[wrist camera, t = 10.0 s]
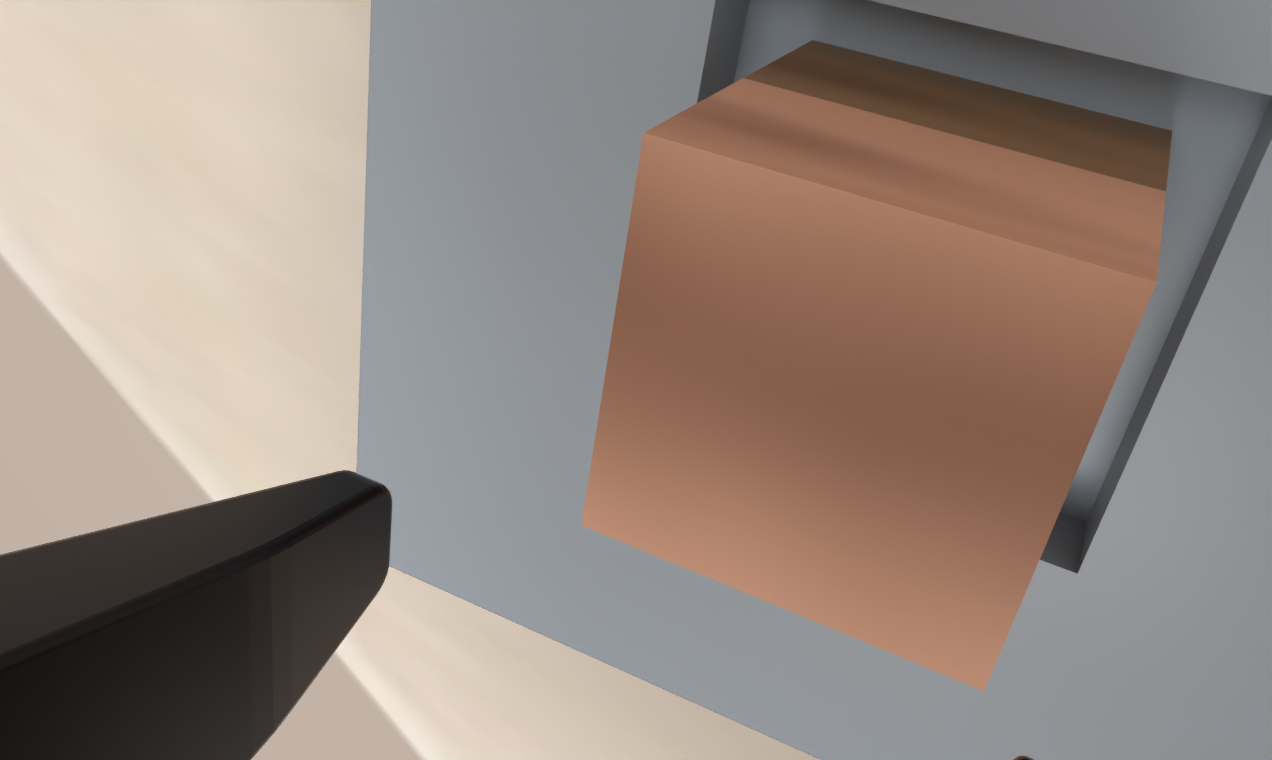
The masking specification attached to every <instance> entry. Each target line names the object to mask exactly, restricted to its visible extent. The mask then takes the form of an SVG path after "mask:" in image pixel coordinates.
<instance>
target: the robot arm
mask: <svg viewBox="0 0 1272 760" xmlns="http://www.w3.org/2000/svg"><path fill="white" fill-rule="evenodd" d="M391 523H392V496H391V493H390V491H389V489H388V488H387V487H386V486H385V485H383V484H381V483H379V482H377V481H374V480H372V479H369V478H367V477H365V476H362V475H360V474H358V473H355V472H352V471H346V470H343V471H337V472H333V473H329V474H325V475H321V476H317V477H313V478H309V479H305V480H301V481H297V482H293V483H289V484H285V485H280V486H276V487H272V488H268V489H264V490H260V491H256V492H252V493H248V494H244V495H240V496H236V497H232V498H228V499H224V500H220V501H216V502H212V503H208V504H204V505H200V506H196V507H192V508H188V509H184V510H180V511H176V512H172V513H167V514H164V515H159V516H156V517H151V518H147V519H144V520H139V521H135V522H131V523H127V524H123V525H119V526H115V527H111V528H107V529H103V530H99V531H95V532H91V533H87V534H83V535H79V536H75V537H71V538H66V539H62V540H58V541H54V542H50V543H46V544H42V545H38V546H35V547H30V548H26V549H22V550H18V551H14V552H10V553H6V554H2V555H0V760H251V759H252V758H253V757H254V755H255V754H256V753H257V752H258V751H259V750H260V748H261V747H262V746H263V745H264V744H265V743H266V742H267V740H268V739H269V738H270V737H271V736H272V735H273V734H274V732H275V731H276V730H277V728H278V727H279V726H280V725H281V723H282V722H283V721H284V720H285V718H286V717H287V716H288V714H289V713H290V712H291V710H292V709H293V708H294V707H295V705H296V704H297V702H298V701H299V700H300V698H301V697H302V696H303V694H304V693H305V691H306V690H307V689H308V687H309V686H310V685H311V683H312V682H313V680H314V679H315V678H316V677H317V675H318V674H319V672H320V671H321V670H322V668H323V667H324V666H325V664H326V663H327V661H328V660H329V658H330V657H331V656H332V655H333V653H334V652H335V651H336V649H337V648H338V647H339V645H340V644H341V642H342V641H343V640H344V638H345V637H346V636H347V634H348V633H349V632H350V630H351V629H352V627H353V626H354V625H355V623H356V622H357V621H358V619H359V618H360V616H361V615H362V614H363V612H364V611H365V610H366V608H367V607H368V606H369V604H370V603H371V601H372V600H373V599H374V597H375V596H376V595H377V593H378V592H379V590H380V588H381V586H382V585H383V583H384V580H385V578H386V575H387V572H388V568H389V562H390V543H391ZM1014 760H1034V759H1032V758H1030V757H1027V756H1018V757H1016V758H1015V759H1014Z"/></svg>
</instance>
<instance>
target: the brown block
mask: <svg viewBox="0 0 1272 760" xmlns="http://www.w3.org/2000/svg"><path fill="white" fill-rule="evenodd" d="M1171 138H1172V131H1171V130H1167V129H1163V128H1159V127H1155V126H1151V125H1147V124H1143V123H1139V122H1135V121H1131V120H1127V119H1124V118H1120V117H1116V116H1112V115H1108V114H1104V113H1100V112H1096V111H1092V110H1088V109H1084V108H1080V107H1076V106H1072V105H1068V104H1064V103H1060V102H1056V101H1052V100H1048V99H1044V98H1040V97H1037V96H1033V95H1029V94H1025V93H1021V92H1017V91H1013V90H1009V89H1005V88H1001V87H997V86H993V85H989V84H985V83H981V82H977V81H973V80H969V79H965V78H961V77H957V76H953V75H949V74H946V73H942V72H938V71H934V70H930V69H926V68H922V67H918V66H914V65H910V64H906V63H902V62H898V61H894V60H890V59H886V58H882V57H878V56H874V55H870V54H866V53H862V52H859V51H855V50H851V49H847V48H843V47H839V46H835V45H831V44H827V43H823V42H819V41H815V40H812V41H810V42H808V43H806V44H804V45H802V46H801V47H799V48H797V49H795V50H793V51H791V52H790V53H788V54H786V55H784V56H782V57H781V58H779V59H777V60H775V61H773V62H771V63H770V64H768V65H766V66H764V67H762V68H761V69H759V70H757V71H755V72H753V73H751V74H750V75H748V76H746V77H744V78H742V79H740V80H739V81H737V82H735V83H733V84H731V85H730V86H728V87H726V88H724V89H722V90H720V91H719V92H717V93H715V94H713V95H711V96H710V97H708V98H706V99H704V100H702V101H700V102H699V103H697V104H695V105H693V106H691V107H689V108H688V109H686V110H684V111H682V112H680V113H679V114H677V115H675V116H673V117H671V118H669V119H668V120H666V121H664V122H662V123H660V124H659V125H657V126H655V127H653V128H651V129H649V130H648V131H646V132H644V133H643V139H642V146H641V152H640V158H639V165H638V171H637V177H636V184H635V190H634V196H633V202H632V209H631V215H630V221H629V228H628V234H627V240H626V247H625V253H624V259H623V265H622V272H621V278H620V284H619V291H618V297H617V303H616V310H615V316H614V322H613V328H612V335H611V341H610V347H609V354H608V360H607V366H606V373H605V379H604V385H603V391H602V398H601V404H600V410H599V417H598V423H597V429H596V436H595V442H594V448H593V454H592V461H591V467H590V473H589V480H588V486H587V492H586V499H585V505H584V511H583V517H582V524H581V525H582V526H584V527H587V528H589V529H592V530H594V531H596V532H599V533H601V534H604V535H606V536H609V537H611V538H613V539H616V540H618V541H621V542H623V543H625V544H628V545H630V546H633V547H635V548H638V549H640V550H642V551H645V552H647V553H650V554H652V555H655V556H657V557H659V558H662V559H664V560H667V561H669V562H672V563H674V564H676V565H679V566H681V567H684V568H686V569H689V570H691V571H693V572H696V573H698V574H701V575H703V576H706V577H708V578H710V579H713V580H715V581H718V582H720V583H723V584H725V585H727V586H730V587H732V588H735V589H737V590H740V591H742V592H744V593H747V594H749V595H752V596H754V597H756V598H759V599H761V600H764V601H766V602H769V603H771V604H773V605H776V606H778V607H781V608H783V609H786V610H788V611H790V612H793V613H795V614H798V615H800V616H803V617H805V618H807V619H810V620H812V621H815V622H817V623H820V624H822V625H824V626H827V627H829V628H832V629H834V630H837V631H839V632H841V633H844V634H846V635H849V636H851V637H854V638H856V639H858V640H861V641H863V642H866V643H868V644H870V645H873V646H875V647H878V648H880V649H883V650H885V651H887V652H890V653H892V654H895V655H897V656H900V657H902V658H904V659H907V660H909V661H912V662H914V663H917V664H919V665H921V666H924V667H926V668H929V669H931V670H934V671H936V672H938V673H941V674H943V675H946V676H948V677H951V678H953V679H955V680H958V681H960V682H963V683H965V684H968V685H970V686H972V687H975V688H977V689H980V690H982V691H984V690H985V688H986V685H987V683H988V681H989V678H990V676H991V674H992V671H993V669H994V666H995V664H996V662H997V659H998V657H999V655H1000V652H1001V650H1002V648H1003V645H1004V643H1005V640H1006V638H1007V636H1008V633H1009V631H1010V629H1011V626H1012V624H1013V621H1014V619H1015V617H1016V614H1017V612H1018V610H1019V607H1020V605H1021V603H1022V600H1023V598H1024V595H1025V593H1026V591H1027V588H1028V586H1029V584H1030V581H1031V579H1032V577H1033V574H1034V572H1035V569H1036V567H1037V565H1038V562H1039V560H1040V558H1041V555H1042V553H1043V551H1044V548H1045V546H1046V543H1047V541H1048V539H1049V536H1050V534H1051V532H1052V529H1053V527H1054V524H1055V522H1056V520H1057V517H1058V515H1059V513H1060V510H1061V508H1062V506H1063V503H1064V501H1065V498H1066V496H1067V494H1068V491H1069V489H1070V487H1071V484H1072V482H1073V480H1074V477H1075V475H1076V472H1077V470H1078V468H1079V465H1080V463H1081V461H1082V458H1083V456H1084V453H1085V451H1086V449H1087V446H1088V444H1089V442H1090V439H1091V437H1092V435H1093V432H1094V430H1095V427H1096V425H1097V423H1098V420H1099V418H1100V416H1101V413H1102V411H1103V409H1104V406H1105V404H1106V401H1107V399H1108V397H1109V394H1110V392H1111V390H1112V387H1113V385H1114V383H1115V380H1116V378H1117V375H1118V373H1119V371H1120V368H1121V366H1122V364H1123V361H1124V359H1125V356H1126V354H1127V352H1128V349H1129V347H1130V345H1131V342H1132V340H1133V338H1134V335H1135V333H1136V330H1137V328H1138V326H1139V323H1140V321H1141V319H1142V316H1143V314H1144V312H1145V309H1146V307H1147V304H1148V302H1149V300H1150V297H1151V295H1152V293H1153V290H1154V288H1155V285H1156V283H1157V275H1158V266H1159V256H1160V246H1161V236H1162V226H1163V217H1164V207H1165V197H1166V187H1167V177H1168V168H1169V158H1170V148H1171Z"/></svg>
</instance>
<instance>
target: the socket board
mask: <svg viewBox="0 0 1272 760" xmlns="http://www.w3.org/2000/svg"><path fill="white" fill-rule="evenodd" d="M812 40H815V41H819V42H823V43H827V44H831V45H835V46H839V47H843V48H847V49H851V50H855V51H859V52H862V53H866V54H870V55H874V56H878V57H882V58H886V59H890V60H894V61H898V62H902V63H906V64H910V65H914V66H918V67H922V68H926V69H930V70H934V71H938V72H942V73H946V74H949V75H953V76H957V77H961V78H965V79H969V80H973V81H977V82H981V83H985V84H989V85H993V86H997V87H1001V88H1005V89H1009V90H1013V91H1017V92H1021V93H1025V94H1029V95H1033V96H1037V97H1040V98H1044V99H1048V100H1052V101H1056V102H1060V103H1064V104H1068V105H1072V106H1076V107H1080V108H1084V109H1088V110H1092V111H1096V112H1100V113H1104V114H1108V115H1112V116H1116V117H1120V118H1124V119H1127V120H1131V121H1135V122H1139V123H1143V124H1147V125H1151V126H1155V127H1159V128H1163V129H1167V130H1171V131H1172V138H1171V148H1170V158H1169V168H1168V177H1167V187H1166V197H1165V207H1164V217H1163V226H1162V236H1161V246H1160V256H1159V266H1158V275H1157V283H1156V285H1155V288H1154V290H1153V293H1152V295H1151V297H1150V300H1149V302H1148V304H1147V307H1146V309H1145V312H1144V314H1143V316H1142V319H1141V321H1140V323H1139V326H1138V328H1137V330H1136V333H1135V335H1134V338H1133V340H1132V342H1131V345H1130V347H1129V349H1128V352H1127V354H1126V356H1125V359H1124V361H1123V364H1122V366H1121V368H1120V371H1119V373H1118V375H1117V378H1116V380H1115V383H1114V385H1113V387H1112V390H1111V392H1110V394H1109V397H1108V399H1107V401H1106V404H1105V406H1104V409H1103V411H1102V413H1101V416H1100V418H1099V420H1098V423H1097V425H1096V427H1095V430H1094V432H1093V435H1092V437H1091V439H1090V442H1089V444H1088V446H1087V449H1086V451H1085V453H1084V456H1083V458H1082V461H1081V463H1080V465H1079V468H1078V470H1077V472H1076V475H1075V477H1074V480H1073V482H1072V484H1071V487H1070V489H1069V491H1068V494H1067V496H1066V498H1065V501H1064V503H1063V506H1062V508H1061V510H1060V513H1059V515H1058V517H1057V520H1056V522H1055V524H1054V527H1053V529H1052V532H1051V534H1050V536H1049V539H1048V541H1047V543H1046V546H1045V548H1044V551H1043V553H1042V555H1041V558H1040V560H1039V562H1038V565H1037V567H1036V569H1035V572H1034V574H1033V577H1032V579H1031V581H1030V584H1029V586H1028V588H1027V591H1026V593H1025V595H1024V598H1023V600H1022V603H1021V605H1020V607H1019V610H1018V612H1017V614H1016V617H1015V619H1014V621H1013V624H1012V626H1011V629H1010V631H1009V633H1008V636H1007V638H1006V640H1005V643H1004V645H1003V648H1002V650H1001V652H1000V655H999V657H998V659H997V662H996V664H995V666H994V669H993V671H992V674H991V676H990V678H989V681H988V683H987V685H986V688H985V690H984V691H982V690H980V689H977V688H975V687H972V686H970V685H968V684H965V683H963V682H960V681H958V680H955V679H953V678H951V677H948V676H946V675H943V674H941V673H938V672H936V671H934V670H931V669H929V668H926V667H924V666H921V665H919V664H917V663H914V662H912V661H909V660H907V659H904V658H902V657H900V656H897V655H895V654H892V653H890V652H887V651H885V650H883V649H880V648H878V647H875V646H873V645H870V644H868V643H866V642H863V641H861V640H858V639H856V638H854V637H851V636H849V635H846V634H844V633H841V632H839V631H837V630H834V629H832V628H829V627H827V626H824V625H822V624H820V623H817V622H815V621H812V620H810V619H807V618H805V617H803V616H800V615H798V614H795V613H793V612H790V611H788V610H786V609H783V608H781V607H778V606H776V605H773V604H771V603H769V602H766V601H764V600H761V599H759V598H756V597H754V596H752V595H749V594H747V593H744V592H742V591H740V590H737V589H735V588H732V587H730V586H727V585H725V584H723V583H720V582H718V581H715V580H713V579H710V578H708V577H706V576H703V575H701V574H698V573H696V572H693V571H691V570H689V569H686V568H684V567H681V566H679V565H676V564H674V563H672V562H669V561H667V560H664V559H662V558H659V557H657V556H655V555H652V554H650V553H647V552H645V551H642V550H640V549H638V548H635V547H633V546H630V545H628V544H625V543H623V542H621V541H618V540H616V539H613V538H611V537H609V536H606V535H604V534H601V533H599V532H596V531H594V530H592V529H589V528H587V527H584V526H582V525H581V524H582V517H583V511H584V505H585V499H586V492H587V486H588V480H589V473H590V467H591V461H592V454H593V448H594V442H595V436H596V429H597V423H598V417H599V410H600V404H601V398H602V391H603V385H604V379H605V373H606V366H607V360H608V354H609V347H610V341H611V335H612V328H613V322H614V316H615V310H616V303H617V297H618V291H619V284H620V278H621V272H622V265H623V259H624V253H625V247H626V240H627V234H628V228H629V221H630V215H631V209H632V202H633V196H634V190H635V184H636V177H637V171H638V165H639V158H640V152H641V146H642V139H643V133H644V132H646V131H648V130H649V129H651V128H653V127H655V126H657V125H659V124H660V123H662V122H664V121H666V120H668V119H669V118H671V117H673V116H675V115H677V114H679V113H680V112H682V111H684V110H686V109H688V108H689V107H691V106H693V105H695V104H697V103H699V102H700V101H702V100H704V99H706V98H708V97H710V96H711V95H713V94H715V93H717V92H719V91H720V90H722V89H724V88H726V87H728V86H730V85H731V84H733V83H735V82H737V81H739V80H740V79H742V78H744V77H746V76H748V75H750V74H751V73H753V72H755V71H757V70H759V69H761V68H762V67H764V66H766V65H768V64H770V63H771V62H773V61H775V60H777V59H779V58H781V57H782V56H784V55H786V54H788V53H790V52H791V51H793V50H795V49H797V48H799V47H801V46H802V45H804V44H806V43H808V42H810V41H812ZM357 473H358V474H360V475H362V476H365V477H367V478H369V479H372V480H374V481H377V482H379V483H381V484H383V485H385V486H386V487H387V488H388V489H389V491H390V493H391V496H392V523H391V543H390V562H389V566H390V567H392V568H395V569H397V570H399V571H401V572H403V573H406V574H408V575H410V576H412V577H415V578H417V579H419V580H421V581H424V582H426V583H428V584H430V585H432V586H435V587H437V588H439V589H441V590H444V591H446V592H448V593H450V594H453V595H455V596H457V597H459V598H461V599H464V600H466V601H468V602H470V603H473V604H475V605H477V606H479V607H482V608H484V609H486V610H488V611H490V612H493V613H495V614H497V615H499V616H502V617H504V618H506V619H508V620H511V621H513V622H515V623H517V624H519V625H522V626H524V627H526V628H528V629H531V630H533V631H535V632H537V633H540V634H542V635H544V636H546V637H548V638H551V639H553V640H555V641H557V642H560V643H562V644H564V645H566V646H568V647H571V648H573V649H575V650H577V651H580V652H582V653H584V654H586V655H589V656H591V657H593V658H595V659H597V660H600V661H602V662H604V663H606V664H609V665H611V666H613V667H615V668H618V669H620V670H622V671H624V672H626V673H629V674H631V675H633V676H635V677H638V678H640V679H642V680H644V681H647V682H649V683H651V684H653V685H655V686H658V687H660V688H662V689H664V690H667V691H669V692H671V693H673V694H676V695H678V696H680V697H682V698H684V699H687V700H689V701H691V702H693V703H696V704H698V705H700V706H702V707H705V708H707V709H709V710H711V711H713V712H716V713H718V714H720V715H722V716H725V717H727V718H729V719H731V720H734V721H736V722H738V723H740V724H742V725H745V726H747V727H749V728H751V729H754V730H756V731H758V732H760V733H763V734H765V735H767V736H769V737H771V738H774V739H776V740H778V741H780V742H783V743H785V744H787V745H789V746H791V747H794V748H796V749H798V750H800V751H803V752H805V753H807V754H809V755H812V756H814V757H816V758H818V759H820V760H1014V759H1015V758H1016V757H1018V756H1027V757H1030V758H1032V759H1034V760H1272V0H371V30H370V62H369V94H368V126H367V158H366V190H365V222H364V253H363V285H362V317H361V349H360V381H359V413H358V445H357Z"/></svg>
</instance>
